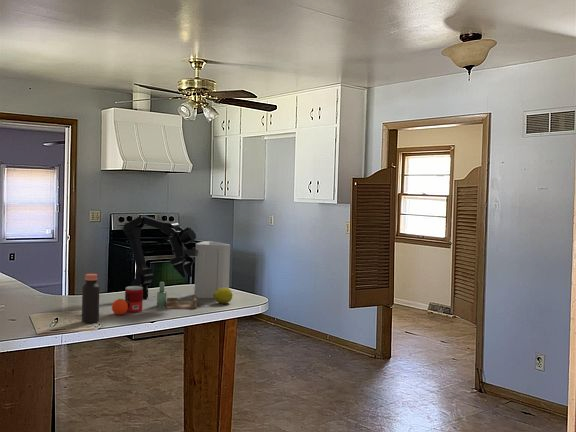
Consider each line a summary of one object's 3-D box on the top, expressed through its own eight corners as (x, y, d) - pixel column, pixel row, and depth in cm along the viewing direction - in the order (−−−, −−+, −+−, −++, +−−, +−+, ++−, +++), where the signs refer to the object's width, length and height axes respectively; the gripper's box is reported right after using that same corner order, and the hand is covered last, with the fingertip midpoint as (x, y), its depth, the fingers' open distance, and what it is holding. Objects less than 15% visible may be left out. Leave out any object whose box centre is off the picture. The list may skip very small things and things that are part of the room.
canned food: (145, 310, 277) (146, 286, 276) (135, 313, 269) (136, 289, 269) (131, 308, 279) (132, 285, 279) (121, 311, 272) (121, 287, 271)
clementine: (123, 311, 272) (124, 296, 271) (132, 314, 267) (133, 298, 267) (108, 314, 266) (108, 298, 265) (117, 317, 261) (118, 301, 261)
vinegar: (96, 323, 248) (97, 276, 247) (79, 323, 247) (80, 275, 246) (100, 320, 254) (101, 273, 253) (84, 319, 254) (85, 273, 253)
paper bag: (185, 294, 320) (187, 242, 318) (208, 291, 330) (209, 241, 328) (206, 300, 306) (207, 245, 304) (229, 297, 316) (231, 244, 314)
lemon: (229, 301, 305) (229, 285, 305) (235, 304, 299) (236, 288, 298) (209, 302, 300) (210, 287, 299) (216, 305, 293) (216, 289, 293)
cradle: (166, 308, 282) (166, 300, 282) (166, 303, 295) (167, 295, 295) (196, 308, 285) (196, 300, 284) (195, 303, 297) (196, 295, 297)
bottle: (156, 306, 286) (157, 282, 285) (156, 304, 290) (157, 281, 289) (165, 306, 286) (166, 282, 286) (166, 304, 291) (166, 281, 290)
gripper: (186, 240, 282) (196, 272, 280) (199, 241, 301) (208, 271, 299) (165, 248, 284) (175, 279, 282) (179, 249, 302) (188, 278, 300)
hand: (187, 277), depth 291 cm, fingers open, 9 cm apart
